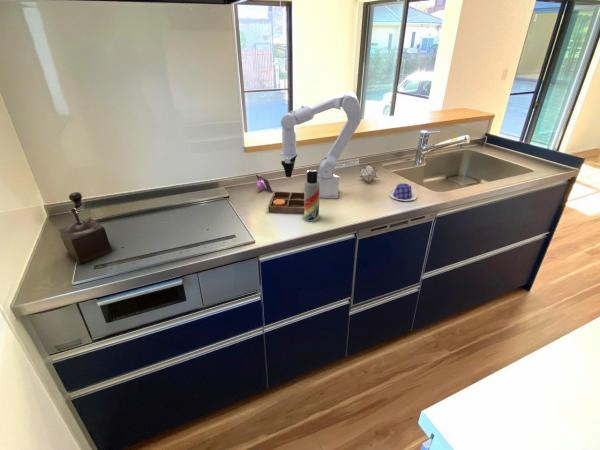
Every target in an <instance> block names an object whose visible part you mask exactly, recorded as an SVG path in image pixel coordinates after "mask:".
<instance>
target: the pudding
mask: <svg viewBox="0 0 600 450" xmlns="http://www.w3.org/2000/svg"><path fill="white" fill-rule="evenodd" d="M388 195H389V197H391V198H392V199H394V200H397V201H404V202H409V201H413V200H416V199H417V197H418V196H417V194H416V193H415V192H413V190H412V186H411V185H410V184H408V183H405V182H402V183H401V182H399V183H398V184H397V185H396V187H395V189H391V190H389V192H388Z"/></svg>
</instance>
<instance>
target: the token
mask: <svg viewBox="0 0 600 450" xmlns="http://www.w3.org/2000/svg"><path fill="white" fill-rule="evenodd" d="M273 206H283V207H285V201H284V200H282V199H276V200H274V201H273Z"/></svg>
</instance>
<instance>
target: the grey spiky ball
mask: <svg viewBox="0 0 600 450" xmlns="http://www.w3.org/2000/svg"><path fill="white" fill-rule="evenodd" d="M359 171H360V176H359V178H361V180H362V181H365V182H367V184H369V183H370V182H372V181H373V180H374V179H375V178H376V179H377V178H378V176H377V171H378V169H376V167H375V166H374V167H373V166H371V165H370V163H367V166H363V168H361V169H359Z"/></svg>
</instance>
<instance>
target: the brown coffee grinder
mask: <svg viewBox="0 0 600 450" xmlns="http://www.w3.org/2000/svg"><path fill="white" fill-rule="evenodd" d="M82 198H83V194H82V193H81V192H79V191H74V192H71V193H70V194H69V195H68V199H69V201H71V202H72V203H73V207H71V208H70V209H69V210H68V213H69V215H72V216H74V218H75V222H74V223H72V224H69V225H66V226H64V227H61V228H58V229H57V230H58V234H59V236H60V238H61V240H62V243H63V245H64V247H65V249H66V252H67V254H68V255H69V256H70V257H71V258H72V259H73V260H74V261H75V262H77V263H78V264H80V265H82V264H85V263H88V262H90V261H92V260H95V259H97V258H100V257H102V256H104V255H106V254H108V253H111V252H112V251H113V249H112V246H111V244H110V240H109V237H108V234H107V232H106V231H107V230H106V229H105V227H104V226H103V225H101V223H99V222H98V221H97V220H95V219H93V218H92V217H88V218H85V219H81V220H80V217H79V215H78V214H79V212H78V211H77V209H79V208H81V207H82V206H83V205H84V202H83V201H82Z"/></svg>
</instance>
